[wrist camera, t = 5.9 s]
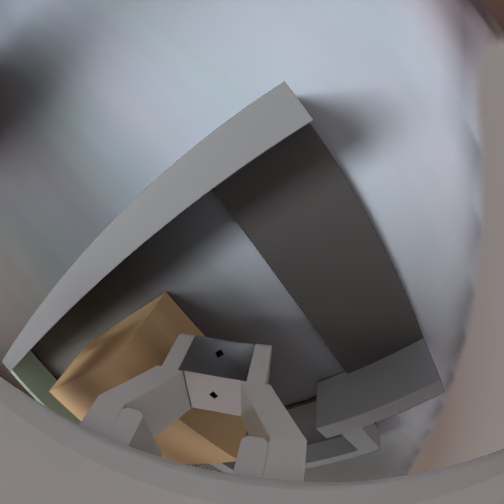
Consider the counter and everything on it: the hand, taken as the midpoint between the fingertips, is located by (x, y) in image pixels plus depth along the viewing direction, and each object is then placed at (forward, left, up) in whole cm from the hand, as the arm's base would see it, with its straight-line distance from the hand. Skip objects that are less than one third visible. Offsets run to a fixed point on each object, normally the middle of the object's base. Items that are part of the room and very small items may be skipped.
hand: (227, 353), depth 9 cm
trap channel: (-6, -3, -2) cm, 7 cm away
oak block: (-5, -1, -2) cm, 6 cm away
